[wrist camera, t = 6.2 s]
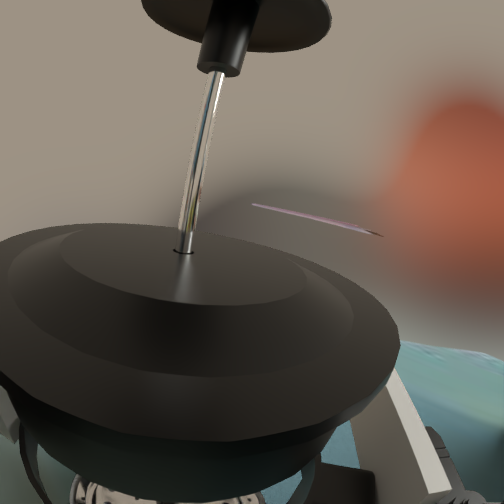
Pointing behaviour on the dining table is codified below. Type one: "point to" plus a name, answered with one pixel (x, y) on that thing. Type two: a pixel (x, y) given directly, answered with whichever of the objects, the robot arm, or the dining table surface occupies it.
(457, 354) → the dining table surface
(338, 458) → the dining table surface
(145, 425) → the french press
